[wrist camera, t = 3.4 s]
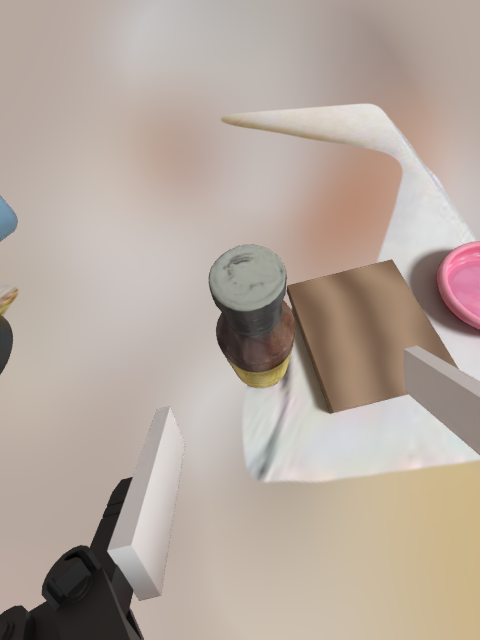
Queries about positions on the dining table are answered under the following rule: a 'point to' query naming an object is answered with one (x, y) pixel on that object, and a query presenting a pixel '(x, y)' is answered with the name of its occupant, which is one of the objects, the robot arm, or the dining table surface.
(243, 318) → the sauce bottle
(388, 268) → the walnut serving board
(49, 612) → the robot arm
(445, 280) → the saucer
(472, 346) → the dining table surface
